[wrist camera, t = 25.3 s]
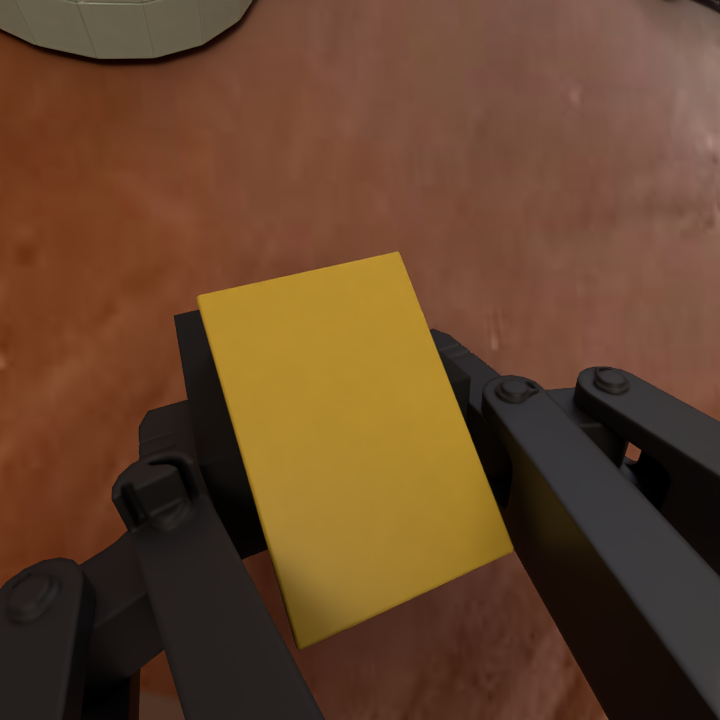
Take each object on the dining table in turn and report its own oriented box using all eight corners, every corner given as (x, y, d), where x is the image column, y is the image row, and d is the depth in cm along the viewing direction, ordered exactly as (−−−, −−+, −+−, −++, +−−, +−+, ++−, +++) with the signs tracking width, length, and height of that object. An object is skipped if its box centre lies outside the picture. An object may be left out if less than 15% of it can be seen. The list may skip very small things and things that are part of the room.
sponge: (273, 564, 15) (298, 654, 7) (224, 395, 16) (194, 294, 8) (382, 520, 17) (516, 551, 8) (330, 365, 18) (399, 250, 9)
